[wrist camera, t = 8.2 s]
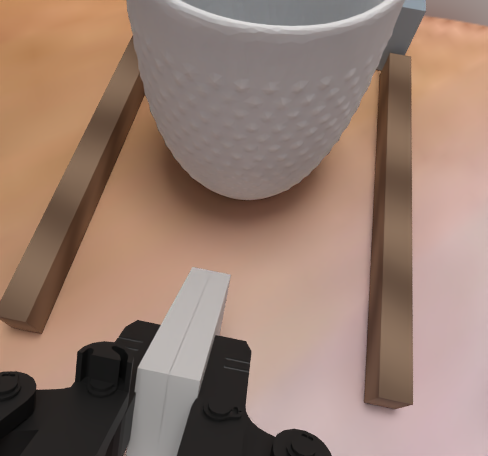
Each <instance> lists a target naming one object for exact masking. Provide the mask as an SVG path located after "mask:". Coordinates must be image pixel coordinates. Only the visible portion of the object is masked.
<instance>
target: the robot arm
mask: <svg viewBox="0 0 488 456" xmlns="http://www.w3.org/2000/svg"><path fill="white" fill-rule="evenodd" d="M230 277H231V275H230V274H225V273H220V272H215V271H210V270H205V269H200V268H195V267H192V269H191V271H190V273H189V275H188V276H187V278H186V280H185V282H184V284H183V286H182V287H181V289H180V291H179V293H178V295H177V297H176V298H175V300H174V302H173V304H172V306H171V308H170V309H169V311H168V313H167V315H166V317H165V319H164V320H163V322H162V324H161V325H159V324H154V323H149V322H144V321H139V320H137V321H135V322H133V323H132V324H130V325H128V326H126V327H125V328H124V330H123V331H122V333H121V334H120V336H119V338H117V340H116V341H115V342H105V341H104V342H96V343H92V344H89V345H87V346H84V347H83V348H82V349H80V350H79V351H78V352H77V364H76V376H75V382H74V384H73V385H72V386H71V387H69V388H65V389H51V390H36V383H35V381H34V379H33V378H32V377H30V376H29V375H28V374H25V373H21V372H17V371H15V372H1V373H0V456H123V454H124V452H125V450H126V448H127V454H126V456H332V455H331V453H330V451H329V450H328V448H327V447H326V445H325V444H324V443H323V442H322V441H321V440H320V439H319V438H317V437H316V436H315V435H313V434H311V433H308V432H306V431H303V430H298V429H289V430H284V431H282V432H281V433H279V434H277V436H276V437H274V436H272V435H270V434H268V433H266V432H264V431H263V430H261V429H259V428H258V427H257V426H256V425H255V424H254V423H252V421H251V420H250V418H249V417H248V415H247V412H246V406H245V404H246V395H247V386H248V377H249V368H250V360H251V350H250V348H249V346H248V344H247V342H246V341H242V340H237V339H232V338H228V337H223V336H219V335H220V330H221V324H222V319H223V314H224V308H225V303H226V298H227V293H228V287H229V282H230Z"/></svg>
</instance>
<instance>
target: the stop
mask: <svg viewBox="0 0 488 456" xmlns="http://www.w3.org/2000/svg"><path fill="white" fill-rule="evenodd" d="M425 12H426V0H405V1H404V4H403V6H402V9H401V11H400V13H399V16H398V18H397V21H396V23H395V26H394V28H393V33H392V36H391V38H390V39H389V40H388V43H387V46H386V48H385V49H384V51H383V53H382V57H381V59H380V62H379V65H378V67H377V68H376V70H381V71H382V69H383V67H384V65H385V63H386V60H387V58H388V56H389V54H390V53H394V54H399V55H405V53H406V51H407V49H408V47H409V45H410V43H411V41H412V39H413V37H414V35H415V33H416V31H417V29H418V27H419V24H420V22H421V20H422V18H423V16H424V14H425Z"/></svg>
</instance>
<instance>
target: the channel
mask: <svg viewBox="0 0 488 456" xmlns="http://www.w3.org/2000/svg"><path fill="white" fill-rule="evenodd" d="M144 94H145V93H144V85H143V81H142V79H141V77H140V71H139V68H138V58H137V54H136V51H135V49H134V44H133V36H132V38H131V40H130V42H129V44H128V46H127V48H126V50H125V52H124V54H123V56H122V58H121V60H120V62H119V64H118V66H117V68H116V70H115V72H114V74H113V76H112V78H111V80H110V82H109V84H108V86H107V88H106V90H105V92H104V94H103V96H102V98H101V100H100V102H99V104H98V106H97V108H96V110H95V113H94V115H93V117H92V119H91V121H90V123H89V125H88V127H87V129H86V131H85V133H84V135H83V137H82V139H81V141H80V143H79V145H78V147H77V149H76V151H75V153H74V155H73V157H72V159H71V161H70V163H69V165H68V167H67V169H66V171H65V173H64V175H63V177H62V179H61V181H60V183H59V185H58V187H57V189H56V191H55V193H54V195H53V197H52V199H51V201H50V203H49V205H48V207H47V209H46V211H45V213H44V215H43V217H42V219H41V221H40V223H39V225H38V227H37V229H36V231H35V233H34V235H33V237H32V239H31V241H30V243H29V245H28V247H27V249H26V251H25V253H24V255H23V257H22V259H21V261H20V263H19V265H18V267H17V269H16V271H15V273H14V275H13V277H12V279H11V281H10V283H9V285H8V287H7V289H6V291H5V293H4V295H3V297H2V299H1V301H0V320H2V321H3V322H5V323H6V324H8V325H9V326H11V327H13V328H18V329H22V330H27V331H32V332H36V333H41V334H42V331H43V329H44V327H45V324H46V322H47V320H48V317H49V315H50V313H51V310H52V308H53V306H54V303H55V301H56V299H57V296H58V294H59V292H60V290H61V287H62V285H63V283H64V280H65V278H66V276H67V273H68V271H69V269H70V266H71V264H72V262H73V259H74V257H75V255H76V252H77V250H78V248H79V245H80V243H81V241H82V238H83V236H84V234H85V231H86V229H87V227H88V224H89V222H90V220H91V218H92V215H93V213H94V211H95V208H96V206H97V204H98V201H99V199H100V197H101V194H102V192H103V190H104V187H105V185H106V183H107V180H108V178H109V176H110V173H111V171H112V169H113V166H114V164H115V162H116V159H117V157H118V155H119V152H120V150H121V148H122V145H123V143H124V141H125V139H126V136H127V134H128V132H129V129H130V127H131V125H132V122H133V120H134V118H135V115H136V113H137V111H138V108H139V106H140V104H141V101H142V99H143V97H144ZM364 403H369V404H374V405H378V406H383V407H388V408H392V409H398V408H402V407H405V406H409V405H413V314H412V132H411V57H410V56H405V55H399V54H394V53H390V54H389V56H388V58H387V60H386V63H385V65H384V67H383V69H382V72H381V74H380V82H379V103H378V124H377V145H376V166H375V187H374V208H373V229H372V250H371V271H370V292H369V313H368V334H367V355H366V377H365V398H364Z"/></svg>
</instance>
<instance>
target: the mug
mask: <svg viewBox="0 0 488 456" xmlns="http://www.w3.org/2000/svg"><path fill="white" fill-rule="evenodd" d="M404 1H405V0H127V12H128V17H129V20H130V23H131V29H132V32H133V44H134V49H135V51H136V54H137V58H138V68H139V71H140V77H141V79H142V81H143V85H144V93H145V95H146V98H147V100H148V102H149V106H150V112H151V113H152V116H153V117H154V119H155V121H156V124H157V128H158V131H159V132H160V134H161V135H162V137H163V138H164V141H165V144H166V146H167V147H168V148H169V149H170V151H171V152H172V155H173V157H174V158H175V159H176V160H177V161H178V162H179V163H180V165H181V167H182V168H183V169H184V170H185V171H187V172H188V173H189V175H190V176H191V177H192V178H193V179H195V180H197V181H198V182H199V183H200V184H202V185H203V186H205V187H206V188H208V189H210V190H211V191H213V192H215V193H218V194H220V195H223V196H226V197H229V198H233V199H240V200H256V199H263V198H267V197H271V196H274V195H277V194H279V193H281V192H283V191H287V190H289V189H290V188H291V187H292V186H294V185H296V184H298V183H300V182H301V181H302V179H303V178H304V177H306V176H308V175H309V174H310V173H311V171H312V170H313V169H314V168H316V167H317V166H318V165H319V164H320V162H321V160H322V159H323V158H324V157H325V156H326V155H328V154H329V152H330V150H331V148H332V147H333V145H334V144H335V143H337V142H338V141H339V139H340V136H341V134H342V132H343V131H344V130H345V129H346V128H347V126H348V124H349V123H350V120H351V117H352V116H353V114H354V113H355V112H356V111H357V108H358V107H359V105H360V101H361V98H362V97H363V95H364V94H365V92H366V91H367V89H368V86H369V85H370V82H371V78H372V76H373V74H374V72H375V70H376V68H377V67H378V65H379V62H380V59H381V57H382V53H383V51H384V49H385V48H386V46H387V43H388V40H389V39H390V38H391V36H392V33H393V28H394V26H395V23H396V21H397V18H398V16H399V13H400V11H401V9H402V6H403V4H404Z"/></svg>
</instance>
